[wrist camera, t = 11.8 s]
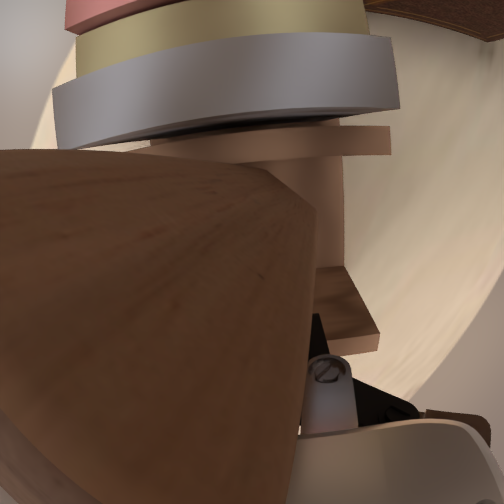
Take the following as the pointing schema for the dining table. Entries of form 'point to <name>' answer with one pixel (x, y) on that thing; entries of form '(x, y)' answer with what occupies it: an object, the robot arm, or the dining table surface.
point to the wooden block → (150, 328)
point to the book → (449, 14)
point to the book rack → (241, 105)
